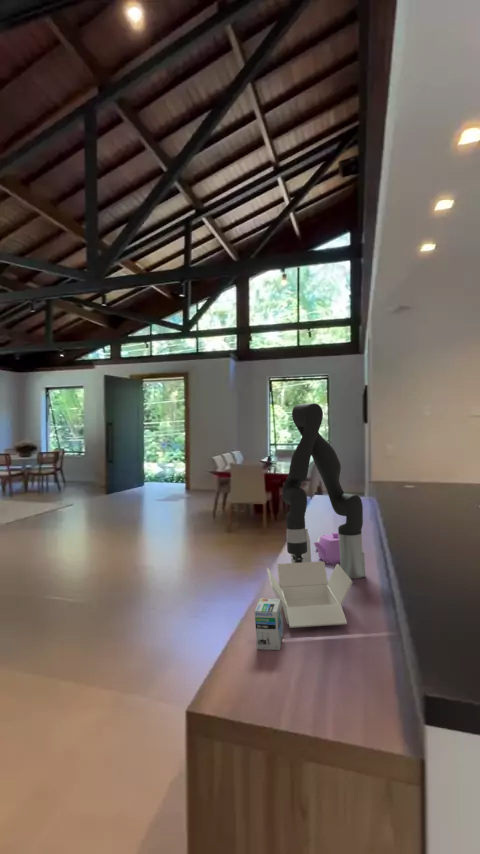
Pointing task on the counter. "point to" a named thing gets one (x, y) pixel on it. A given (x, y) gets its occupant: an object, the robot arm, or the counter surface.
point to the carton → (311, 593)
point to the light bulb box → (269, 624)
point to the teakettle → (329, 548)
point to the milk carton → (308, 554)
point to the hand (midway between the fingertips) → (299, 585)
